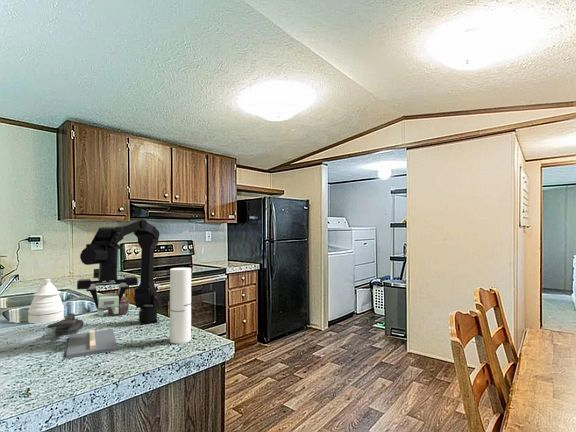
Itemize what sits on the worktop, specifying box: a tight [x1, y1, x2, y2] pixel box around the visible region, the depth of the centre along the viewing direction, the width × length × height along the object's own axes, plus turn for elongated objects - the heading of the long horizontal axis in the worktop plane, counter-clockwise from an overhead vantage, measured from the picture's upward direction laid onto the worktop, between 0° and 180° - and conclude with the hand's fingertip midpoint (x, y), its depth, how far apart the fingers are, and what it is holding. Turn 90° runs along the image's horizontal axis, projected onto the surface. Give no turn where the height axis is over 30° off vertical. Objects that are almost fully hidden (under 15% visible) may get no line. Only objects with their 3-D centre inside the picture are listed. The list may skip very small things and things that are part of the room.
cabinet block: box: [96, 292, 119, 316], centre depth 122 cm, size 6×11×6 cm, turn 31°
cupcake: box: [106, 293, 130, 317], centre depth 163 cm, size 10×10×10 cm
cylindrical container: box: [169, 267, 192, 344], centre depth 124 cm, size 7×7×25 cm
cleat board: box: [65, 328, 119, 359], centre depth 120 cm, size 14×24×2 cm, turn 30°
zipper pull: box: [46, 312, 84, 337], centre depth 132 cm, size 9×7×25 cm
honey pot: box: [27, 278, 65, 324], centre depth 153 cm, size 13×13×18 cm
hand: (107, 307), depth 122 cm, fingers closed on cabinet block, 6 cm apart
